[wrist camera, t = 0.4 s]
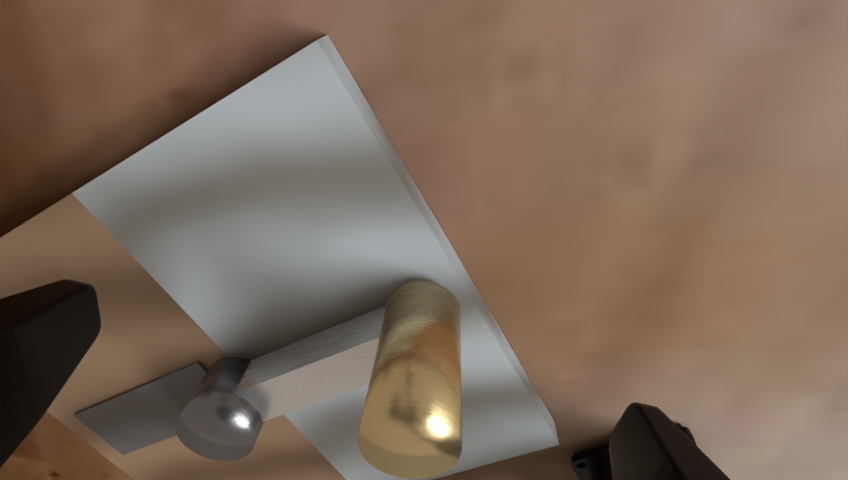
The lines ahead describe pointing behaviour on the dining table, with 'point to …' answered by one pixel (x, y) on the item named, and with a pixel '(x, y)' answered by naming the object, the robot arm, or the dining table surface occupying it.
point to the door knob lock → (349, 386)
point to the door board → (258, 279)
